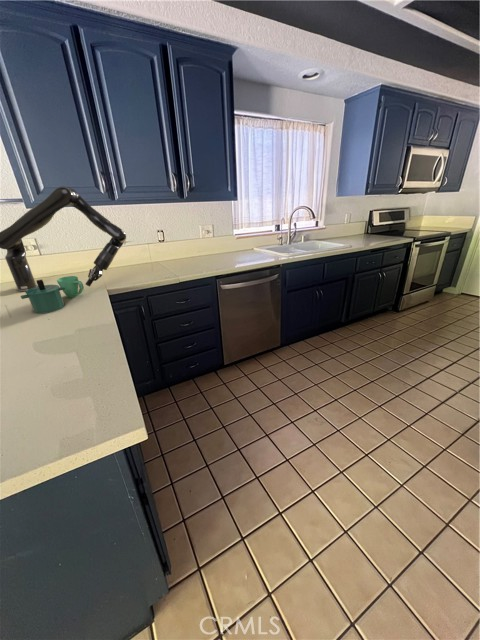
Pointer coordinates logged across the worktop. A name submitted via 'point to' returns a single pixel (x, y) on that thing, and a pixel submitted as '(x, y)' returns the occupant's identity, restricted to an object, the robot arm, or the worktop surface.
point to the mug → (71, 285)
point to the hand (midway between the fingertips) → (87, 285)
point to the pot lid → (42, 289)
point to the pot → (46, 301)
